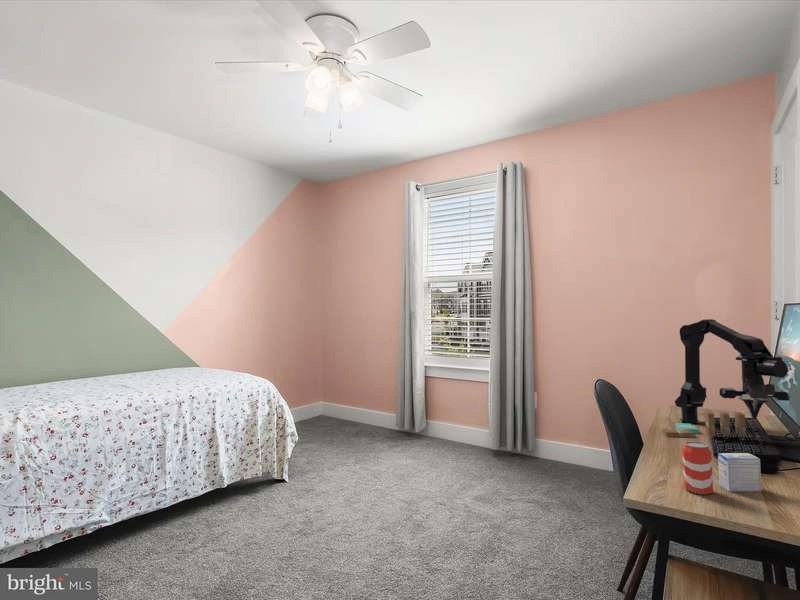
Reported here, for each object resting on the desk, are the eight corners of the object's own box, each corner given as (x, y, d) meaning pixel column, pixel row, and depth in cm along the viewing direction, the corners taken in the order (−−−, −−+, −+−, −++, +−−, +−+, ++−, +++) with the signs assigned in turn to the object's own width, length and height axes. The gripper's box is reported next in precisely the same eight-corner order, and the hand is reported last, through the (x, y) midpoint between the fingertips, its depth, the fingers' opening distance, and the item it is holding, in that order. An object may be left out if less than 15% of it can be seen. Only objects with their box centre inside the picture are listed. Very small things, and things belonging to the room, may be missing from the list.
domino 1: (694, 438, 166) (666, 437, 168) (689, 434, 171) (662, 433, 173) (693, 433, 166) (666, 432, 168) (688, 429, 171) (662, 428, 173)
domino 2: (709, 438, 164) (708, 413, 164) (706, 435, 168) (705, 410, 169) (715, 439, 163) (714, 413, 163) (712, 435, 168) (711, 410, 168)
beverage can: (688, 494, 117) (686, 447, 117) (681, 485, 123) (679, 440, 123) (716, 496, 115) (714, 448, 115) (707, 487, 121) (705, 441, 121)
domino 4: (739, 441, 160) (738, 415, 160) (736, 437, 165) (734, 412, 165) (746, 441, 159) (744, 415, 160) (742, 437, 164) (740, 412, 164)
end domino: (698, 429, 171) (689, 423, 179) (683, 428, 172) (675, 423, 181) (699, 434, 171) (690, 428, 179) (683, 433, 172) (675, 427, 181)
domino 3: (724, 440, 162) (723, 414, 162) (720, 436, 166) (719, 411, 167) (730, 440, 161) (729, 414, 161) (727, 436, 166) (725, 411, 166)
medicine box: (750, 485, 121) (749, 452, 121) (762, 492, 117) (760, 458, 117) (718, 485, 122) (717, 452, 122) (729, 492, 117) (727, 458, 118)
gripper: (725, 376, 157) (727, 422, 157) (794, 378, 150) (796, 426, 149) (718, 372, 168) (720, 415, 167) (782, 373, 160) (784, 418, 160)
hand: (754, 418), depth 161 cm, fingers closed
